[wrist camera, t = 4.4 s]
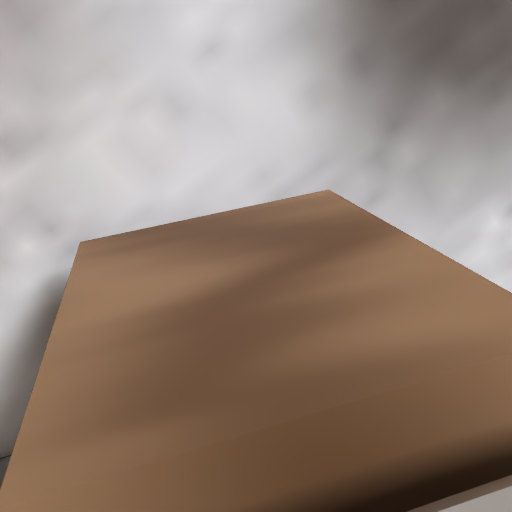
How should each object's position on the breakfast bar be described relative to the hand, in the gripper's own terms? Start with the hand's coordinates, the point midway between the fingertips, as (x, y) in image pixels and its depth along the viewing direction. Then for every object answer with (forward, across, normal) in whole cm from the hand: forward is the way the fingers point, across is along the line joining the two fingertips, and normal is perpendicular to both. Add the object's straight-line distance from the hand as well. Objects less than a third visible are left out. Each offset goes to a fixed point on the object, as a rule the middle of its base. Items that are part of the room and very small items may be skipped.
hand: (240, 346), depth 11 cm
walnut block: (+1, 0, 0) cm, 1 cm away
